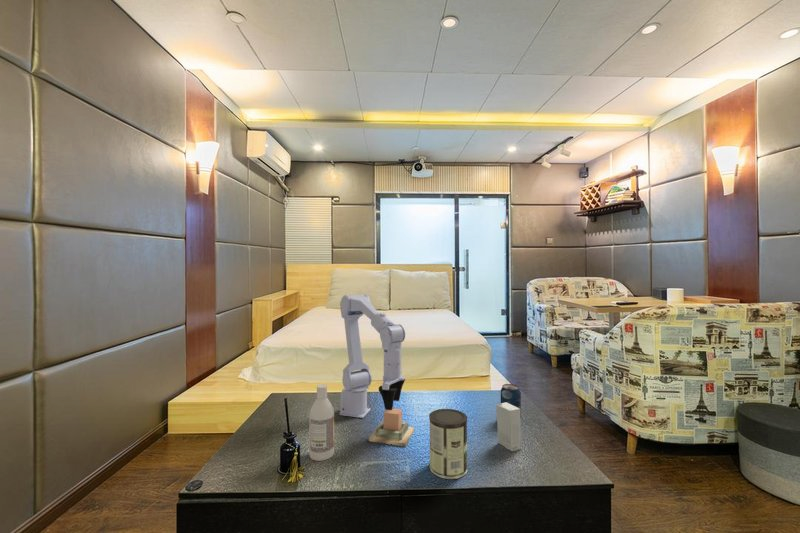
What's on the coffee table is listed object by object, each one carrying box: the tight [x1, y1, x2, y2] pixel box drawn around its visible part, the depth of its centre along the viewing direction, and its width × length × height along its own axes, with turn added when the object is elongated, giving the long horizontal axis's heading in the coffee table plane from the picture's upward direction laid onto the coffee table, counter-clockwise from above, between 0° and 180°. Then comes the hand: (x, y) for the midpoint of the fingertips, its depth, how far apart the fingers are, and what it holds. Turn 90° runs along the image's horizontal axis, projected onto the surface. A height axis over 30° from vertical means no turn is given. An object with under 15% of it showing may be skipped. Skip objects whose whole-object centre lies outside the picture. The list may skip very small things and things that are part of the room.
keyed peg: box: [383, 408, 403, 432], centre depth 111 cm, size 5×4×7 cm
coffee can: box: [428, 408, 468, 480], centre depth 93 cm, size 10×10×14 cm
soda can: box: [500, 383, 522, 420], centre depth 123 cm, size 7×7×12 cm
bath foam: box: [308, 384, 335, 462], centre depth 100 cm, size 7×7×20 cm
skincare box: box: [496, 402, 522, 452], centre depth 105 cm, size 6×4×12 cm
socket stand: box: [368, 419, 416, 447], centre depth 111 cm, size 12×11×3 cm
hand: (392, 404), depth 112 cm, fingers open, 7 cm apart
